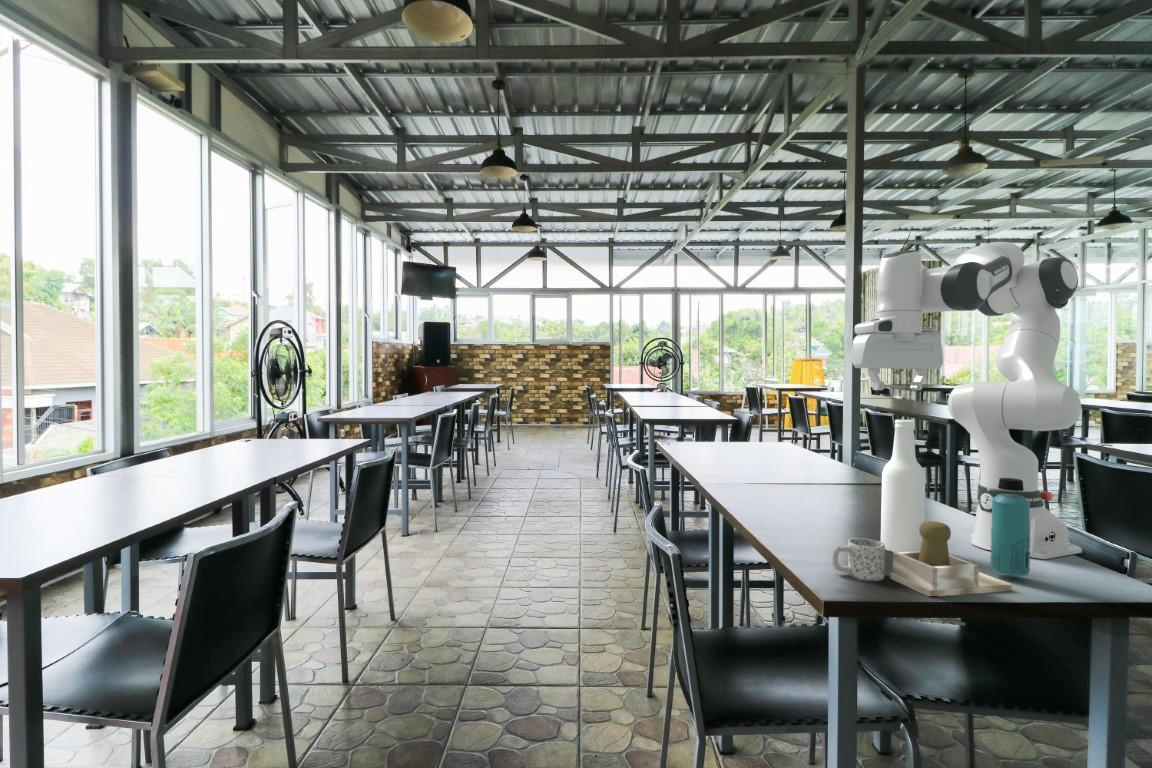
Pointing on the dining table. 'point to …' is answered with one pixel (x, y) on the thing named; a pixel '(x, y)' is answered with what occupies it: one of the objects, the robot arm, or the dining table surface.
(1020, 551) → the beverage bottle
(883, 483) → the alcohol
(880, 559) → the mug
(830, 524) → the dining table surface
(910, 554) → the open box
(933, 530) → the cork
